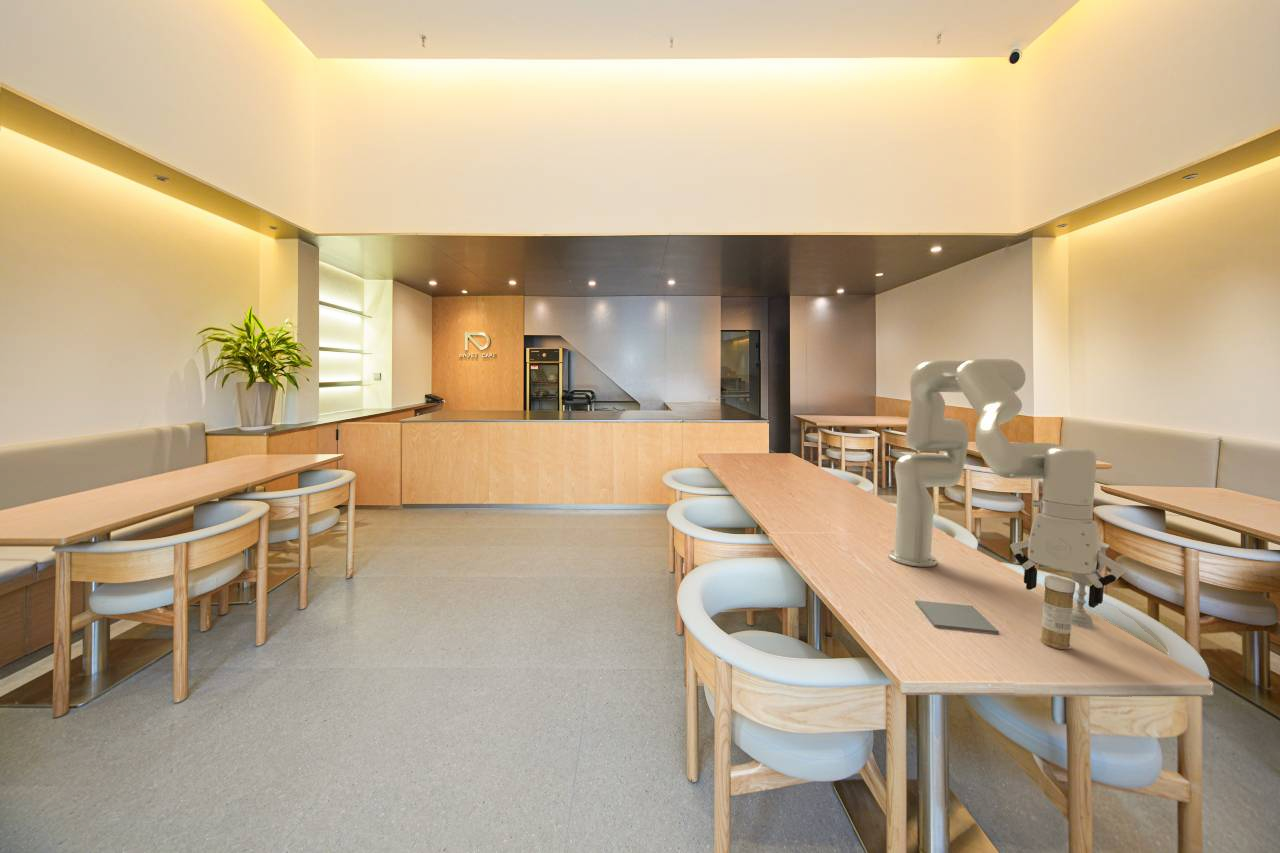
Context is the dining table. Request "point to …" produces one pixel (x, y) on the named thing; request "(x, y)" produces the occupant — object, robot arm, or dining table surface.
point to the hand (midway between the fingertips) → (1061, 596)
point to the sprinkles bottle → (1057, 611)
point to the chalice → (1079, 613)
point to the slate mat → (955, 617)
